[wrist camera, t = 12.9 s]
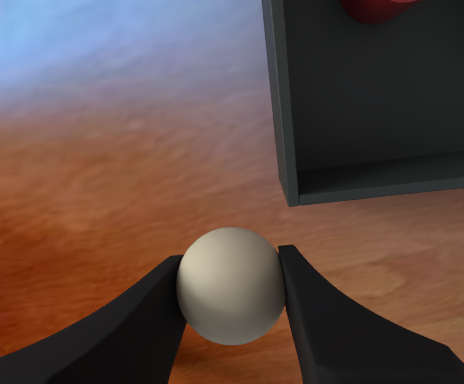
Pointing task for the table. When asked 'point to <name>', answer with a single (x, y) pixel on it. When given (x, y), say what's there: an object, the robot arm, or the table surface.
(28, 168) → the table surface
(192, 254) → the beige ball
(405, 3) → the red cylinder
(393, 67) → the bin
